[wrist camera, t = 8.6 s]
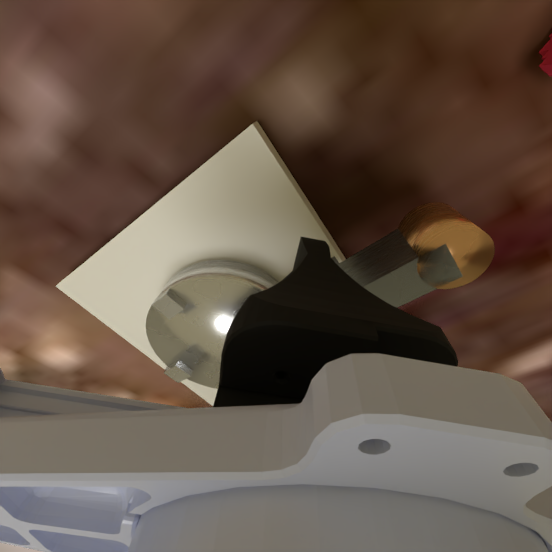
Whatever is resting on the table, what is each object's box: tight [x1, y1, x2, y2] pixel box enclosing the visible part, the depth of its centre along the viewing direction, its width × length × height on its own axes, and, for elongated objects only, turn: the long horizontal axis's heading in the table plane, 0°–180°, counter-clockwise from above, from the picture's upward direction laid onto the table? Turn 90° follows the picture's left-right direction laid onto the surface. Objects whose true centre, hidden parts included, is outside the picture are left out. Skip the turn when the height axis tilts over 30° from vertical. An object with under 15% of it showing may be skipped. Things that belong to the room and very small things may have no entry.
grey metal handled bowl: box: [146, 202, 494, 389], centre depth 14 cm, size 18×9×5 cm, turn 129°
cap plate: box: [56, 121, 346, 406], centre depth 19 cm, size 16×16×2 cm
